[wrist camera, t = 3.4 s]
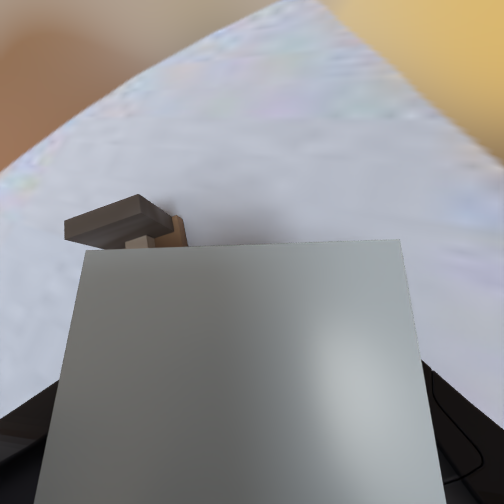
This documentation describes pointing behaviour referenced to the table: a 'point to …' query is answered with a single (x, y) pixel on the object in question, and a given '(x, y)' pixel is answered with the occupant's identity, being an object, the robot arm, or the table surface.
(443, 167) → the table surface
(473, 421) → the robot arm
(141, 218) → the rail board
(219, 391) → the block
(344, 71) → the table surface
